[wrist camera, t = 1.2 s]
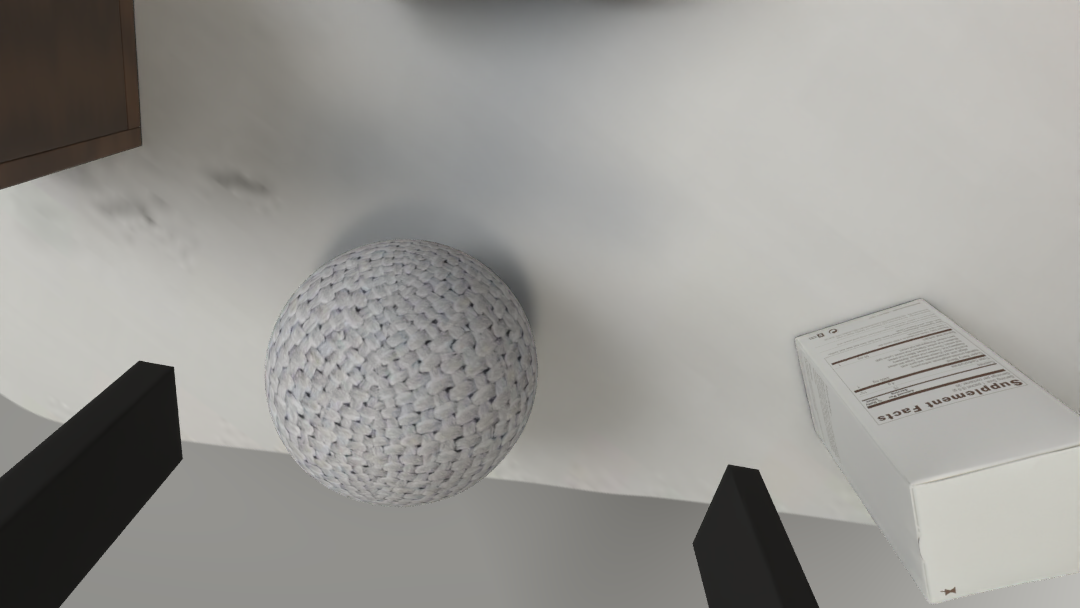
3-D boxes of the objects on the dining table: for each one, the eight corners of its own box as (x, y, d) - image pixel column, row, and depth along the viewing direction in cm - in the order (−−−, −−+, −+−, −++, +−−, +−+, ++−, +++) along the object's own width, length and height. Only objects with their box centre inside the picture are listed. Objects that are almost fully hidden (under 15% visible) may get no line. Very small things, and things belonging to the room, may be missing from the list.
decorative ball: (319, 190, 37) (187, 289, 24) (554, 223, 38) (556, 336, 24) (325, 387, 44) (224, 553, 30) (525, 411, 44) (514, 584, 31)
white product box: (937, 398, 43) (1113, 571, 30) (813, 432, 45) (926, 611, 31) (926, 293, 39) (1120, 436, 26) (791, 334, 41) (909, 489, 27)
